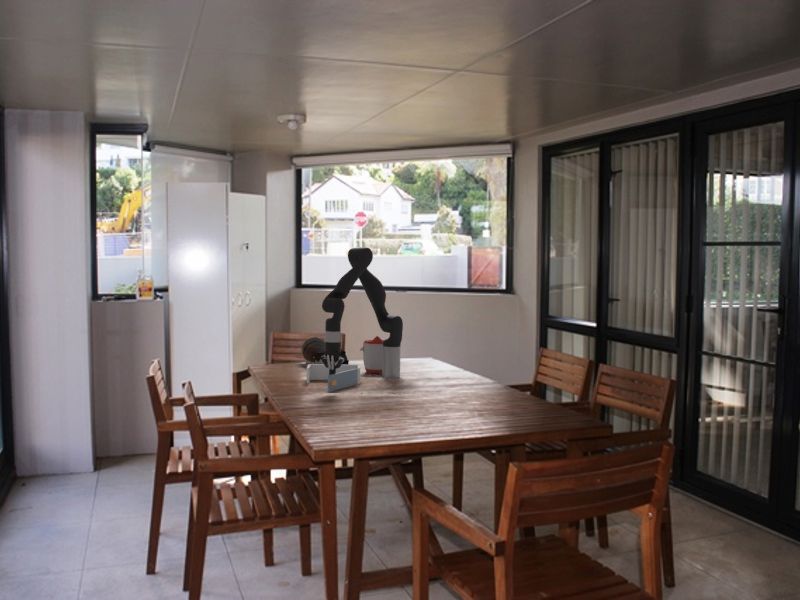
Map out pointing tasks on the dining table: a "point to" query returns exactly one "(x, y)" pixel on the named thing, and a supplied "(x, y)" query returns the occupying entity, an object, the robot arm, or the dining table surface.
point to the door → (342, 379)
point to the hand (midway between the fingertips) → (332, 377)
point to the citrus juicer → (373, 355)
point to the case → (322, 372)
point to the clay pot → (313, 350)
